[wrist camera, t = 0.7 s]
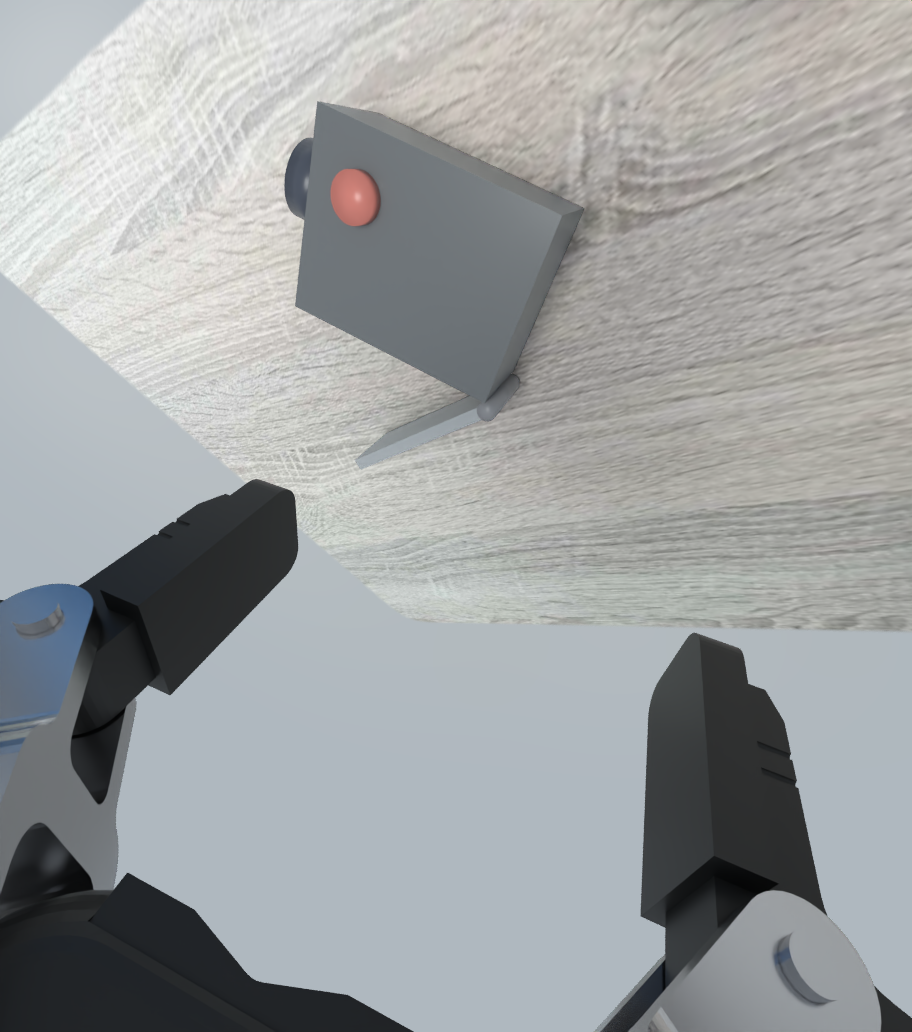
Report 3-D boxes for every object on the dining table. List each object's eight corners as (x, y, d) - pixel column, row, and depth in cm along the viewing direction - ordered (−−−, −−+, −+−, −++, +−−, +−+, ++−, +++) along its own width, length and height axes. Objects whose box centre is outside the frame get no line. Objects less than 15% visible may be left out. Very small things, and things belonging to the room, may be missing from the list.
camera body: (584, 208, 27) (558, 216, 22) (512, 372, 33) (479, 409, 28) (348, 99, 28) (271, 82, 23) (323, 276, 35) (258, 295, 29)
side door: (514, 371, 33) (490, 399, 29) (522, 387, 33) (499, 417, 29) (386, 429, 40) (351, 458, 35) (394, 442, 40) (360, 473, 36)
